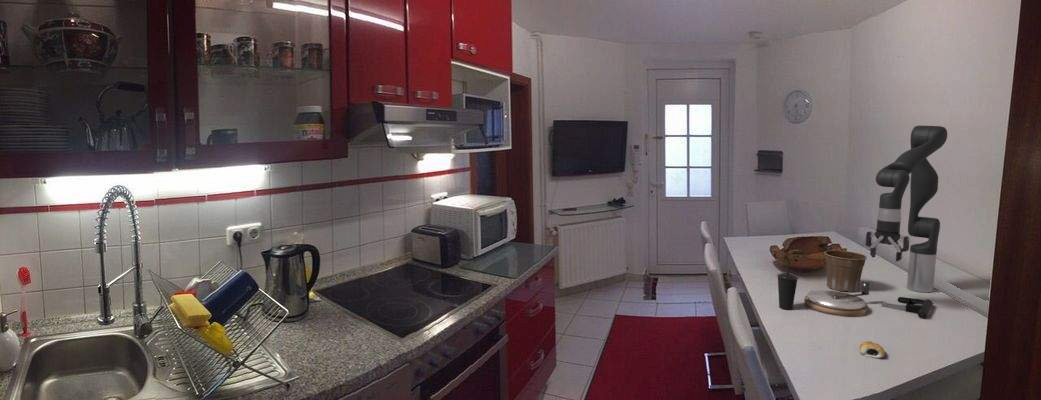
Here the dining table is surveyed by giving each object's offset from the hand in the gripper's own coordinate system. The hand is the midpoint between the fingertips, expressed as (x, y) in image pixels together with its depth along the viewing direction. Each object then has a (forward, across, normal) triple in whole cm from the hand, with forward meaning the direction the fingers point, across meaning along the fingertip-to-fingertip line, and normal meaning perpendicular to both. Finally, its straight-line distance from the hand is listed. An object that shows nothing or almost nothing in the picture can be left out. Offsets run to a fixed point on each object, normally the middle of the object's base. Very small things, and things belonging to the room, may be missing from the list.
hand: (885, 259), depth 195 cm
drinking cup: (+21, -24, -31) cm, 44 cm away
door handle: (+21, +7, +6) cm, 23 cm away
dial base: (+20, -12, -14) cm, 27 cm away
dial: (+18, -10, -11) cm, 24 cm away
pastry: (+21, +13, -52) cm, 57 cm away
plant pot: (+20, -20, +15) cm, 32 cm away
